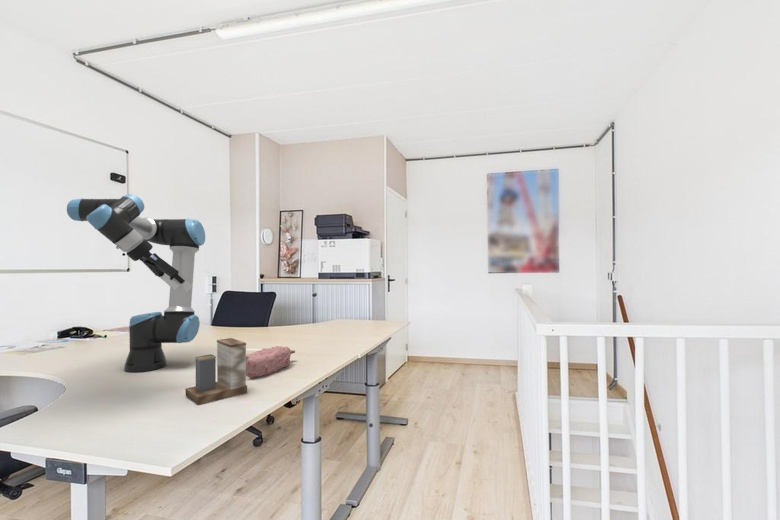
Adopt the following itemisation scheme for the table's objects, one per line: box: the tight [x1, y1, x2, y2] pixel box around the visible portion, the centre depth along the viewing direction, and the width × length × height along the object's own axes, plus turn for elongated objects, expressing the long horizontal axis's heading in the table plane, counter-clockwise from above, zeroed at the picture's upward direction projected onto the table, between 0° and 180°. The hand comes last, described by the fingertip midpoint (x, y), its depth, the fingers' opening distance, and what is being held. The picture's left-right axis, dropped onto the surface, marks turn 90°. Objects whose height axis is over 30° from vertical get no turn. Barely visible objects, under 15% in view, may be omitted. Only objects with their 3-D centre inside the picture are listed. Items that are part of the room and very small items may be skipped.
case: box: [194, 353, 217, 393], centre depth 129 cm, size 5×4×11 cm
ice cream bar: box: [246, 345, 296, 379], centre depth 161 cm, size 13×9×30 cm
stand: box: [184, 337, 248, 406], centre depth 131 cm, size 16×12×17 cm
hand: (183, 288), depth 140 cm, fingers open, 13 cm apart
